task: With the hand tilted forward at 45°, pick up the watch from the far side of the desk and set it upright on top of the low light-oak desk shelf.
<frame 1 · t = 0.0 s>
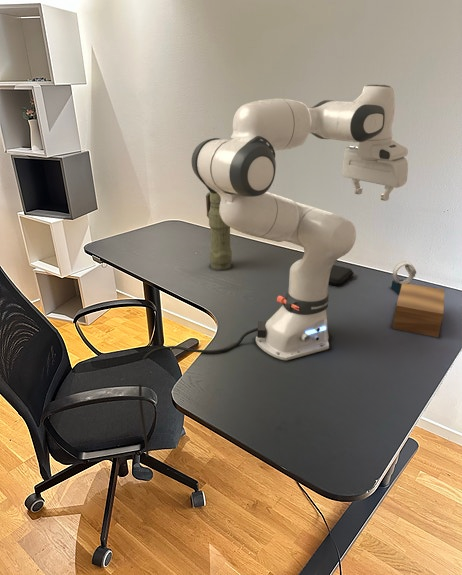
hand: (371, 196, 128), 39 cm above the table, tool pointing down, fingers open, 8 cm apart
watch: (400, 291, 160), on the table
shelf: (416, 319, 141), on the table
carrying case: (336, 279, 170), on the table
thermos: (220, 266, 182), on the table
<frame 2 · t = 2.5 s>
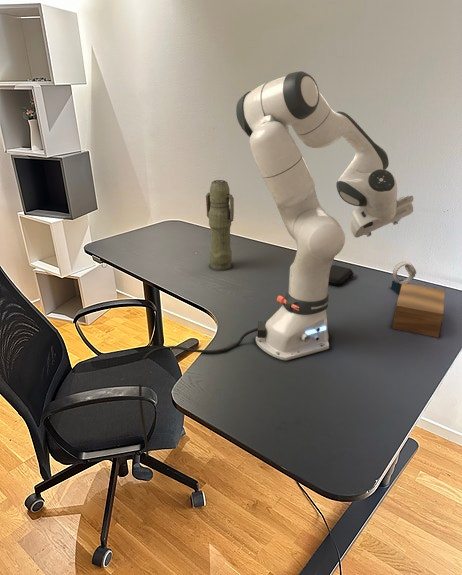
hand: (381, 228, 149), 24 cm above the table, tool tilted 45°, fingers open, 8 cm apart
nothing on the table moved.
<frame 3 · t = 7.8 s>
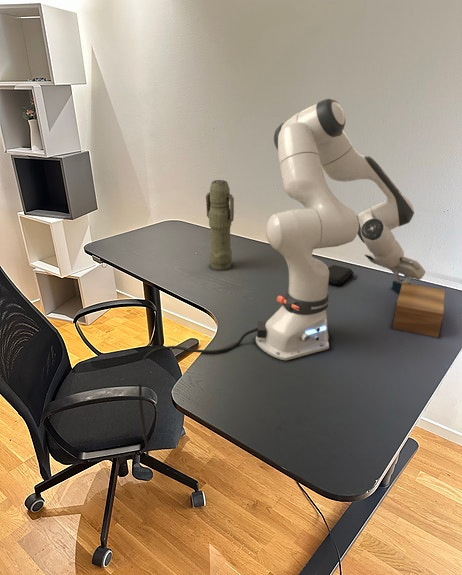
hand: (402, 274, 156), 7 cm above the table, tool tilted 45°, fingers closed on watch, 4 cm apart
watch: (401, 291, 160), on the table, touching gripper
everything else where it was.
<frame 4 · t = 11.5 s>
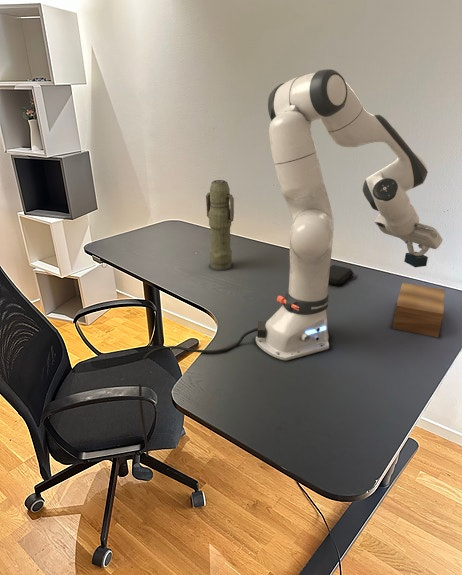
hand: (416, 244, 143), 21 cm above the table, tool tilted 45°, fingers closed on watch, 4 cm apart
watch: (415, 264, 146), point 14 cm above the table, touching gripper
everything else where it was.
when the fingers open (15 cm above the table, at t = 15.4 s): watch stays where it is, resting on shelf.
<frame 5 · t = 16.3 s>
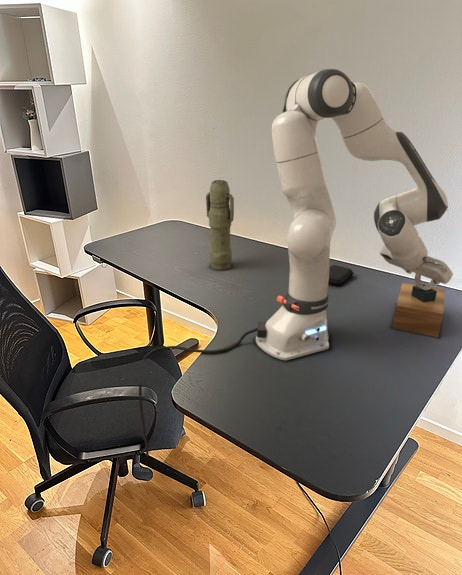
hand: (423, 276, 134), 15 cm above the table, tool tilted 45°, fingers open, 8 cm apart
watch: (423, 298, 137), point 8 cm above the table, touching shelf
everything else where it was.
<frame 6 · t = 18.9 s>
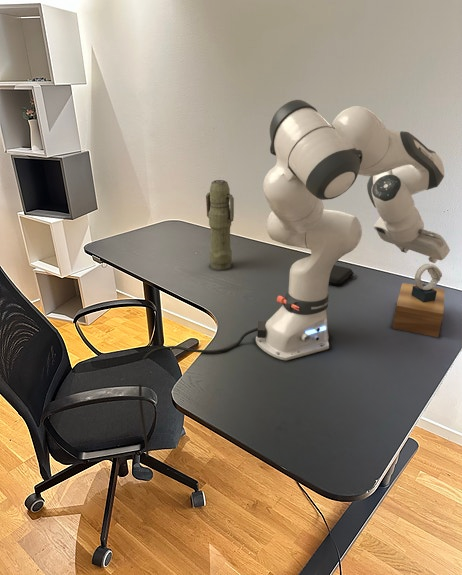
hand: (419, 255, 126), 24 cm above the table, tool tilted 40°, fingers open, 8 cm apart
nothing on the table moved.
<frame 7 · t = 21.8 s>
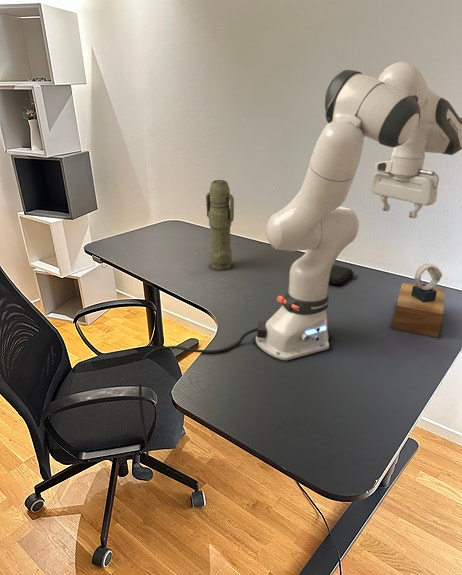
hand: (398, 214, 132), 33 cm above the table, tool pointing down, fingers open, 8 cm apart
nothing on the table moved.
at the end: watch inside the target area on the shelf (0.5 cm from its centre), point 7.8 cm above the shelf's base; watch tilted 0°; the gripper is holding nothing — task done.
